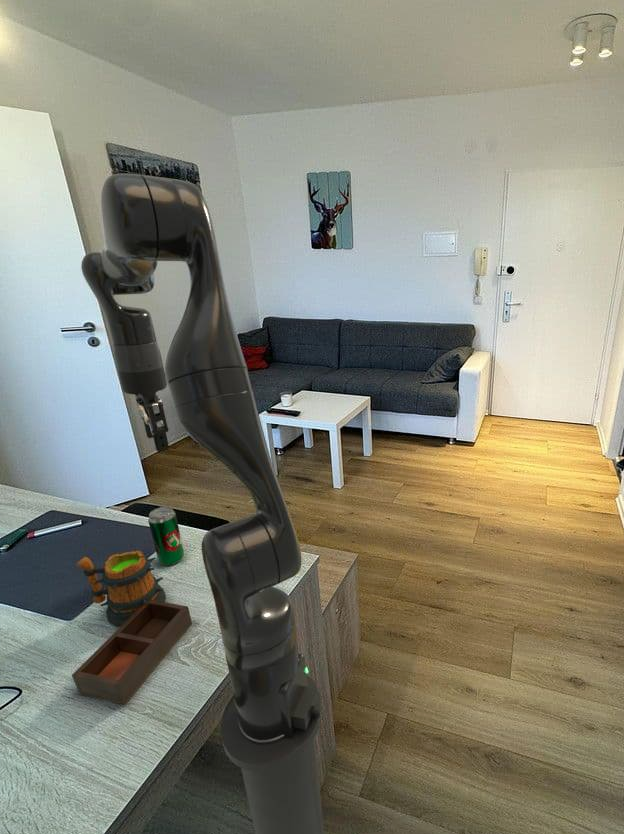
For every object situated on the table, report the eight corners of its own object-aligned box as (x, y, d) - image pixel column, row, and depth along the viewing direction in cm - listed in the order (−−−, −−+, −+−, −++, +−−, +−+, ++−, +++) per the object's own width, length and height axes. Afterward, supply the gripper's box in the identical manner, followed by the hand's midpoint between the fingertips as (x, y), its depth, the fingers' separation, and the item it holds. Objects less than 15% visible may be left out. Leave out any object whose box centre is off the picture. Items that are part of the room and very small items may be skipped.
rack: (192, 623, 78) (188, 606, 76) (125, 704, 64) (118, 685, 62) (153, 616, 79) (148, 599, 78) (79, 694, 65) (71, 675, 64)
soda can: (161, 554, 95) (149, 507, 91) (186, 549, 97) (176, 503, 92) (156, 568, 91) (144, 521, 86) (183, 564, 92) (172, 516, 88)
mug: (176, 585, 86) (165, 537, 82) (152, 627, 76) (138, 575, 72) (108, 588, 85) (93, 540, 81) (75, 630, 76) (56, 578, 71)
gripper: (171, 370, 79) (187, 450, 85) (154, 356, 89) (169, 428, 95) (124, 376, 75) (144, 460, 81) (111, 361, 85) (130, 436, 91)
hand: (158, 443), depth 88 cm, fingers open, 8 cm apart
